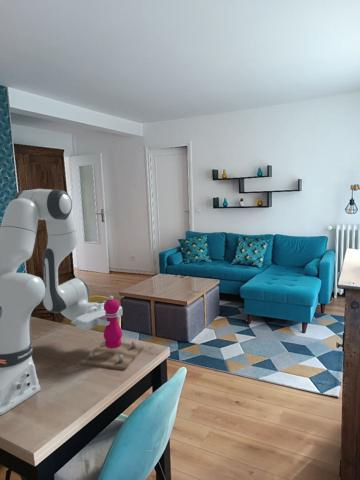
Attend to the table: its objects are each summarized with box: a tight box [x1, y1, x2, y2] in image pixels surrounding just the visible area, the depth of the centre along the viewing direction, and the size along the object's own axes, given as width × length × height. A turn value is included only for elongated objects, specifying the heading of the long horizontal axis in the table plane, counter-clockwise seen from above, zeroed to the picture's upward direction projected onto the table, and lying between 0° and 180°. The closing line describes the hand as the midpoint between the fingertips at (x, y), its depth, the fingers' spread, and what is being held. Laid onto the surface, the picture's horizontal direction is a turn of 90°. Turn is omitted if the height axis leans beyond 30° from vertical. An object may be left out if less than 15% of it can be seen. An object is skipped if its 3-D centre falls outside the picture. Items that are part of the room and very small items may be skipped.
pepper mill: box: [103, 295, 123, 349], centre depth 134 cm, size 7×7×20 cm
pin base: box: [80, 339, 144, 371], centre depth 135 cm, size 18×18×4 cm
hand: (113, 320), depth 133 cm, fingers closed on pepper mill, 4 cm apart
